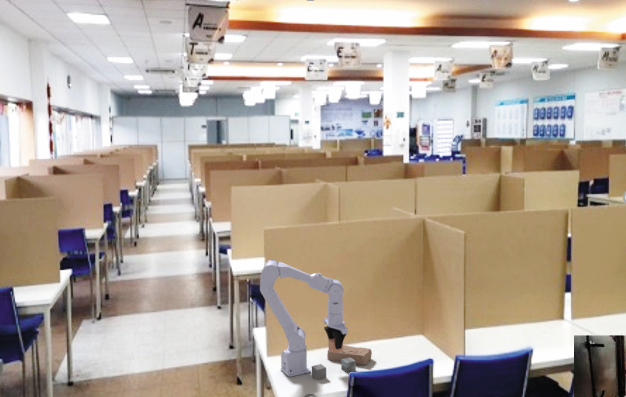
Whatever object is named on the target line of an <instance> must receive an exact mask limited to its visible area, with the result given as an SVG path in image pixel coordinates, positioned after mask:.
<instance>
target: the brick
mask: <svg viewBox="0 0 626 397" xmlns="http://www.w3.org/2000/svg"><path fill="white" fill-rule="evenodd" d="M372 354H373V353H372V349H371V348H367V347H356V346H351V345H346V344H343V351H341V352H337V353H333V352H331V351H330V350H329V349H327V354H326V355H327V358H326V359H327V360H329V361H332V362H333V361H335V362H336V361H337V362H341V359H346V358H352V359H353V360H355V361H356V366H358V365H359V366H364V365H367V363H368V362H370V361H371V359H372Z"/></svg>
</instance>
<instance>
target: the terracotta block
mask: <svg viewBox="0 0 626 397" xmlns="http://www.w3.org/2000/svg"><path fill="white" fill-rule="evenodd" d="M343 345H344V343H343V344H342V348H341V349H336V347H335V339H328V350H330V351H331V352H333V353H337V352H341V351H343Z"/></svg>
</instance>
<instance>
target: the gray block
mask: <svg viewBox="0 0 626 397" xmlns="http://www.w3.org/2000/svg"><path fill="white" fill-rule="evenodd" d="M311 377H312V378H313V379H315V380H316V381H318V380H323V379H326V378H327V367H326V366H324V365H323V364H322V363H320V364H316V365H311Z"/></svg>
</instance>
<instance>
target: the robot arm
mask: <svg viewBox="0 0 626 397" xmlns="http://www.w3.org/2000/svg"><path fill="white" fill-rule="evenodd" d="M259 276H260V277H259V278H260V279H259V280H260V283H259V291H260V293H261V295H262V296H263V298H264V300H265V301H266V303H267V305H268V306H269V309H271V311H272V313H273V315H274V316H275V318H276V320H277V322H278V323H279V324H280V326H281V328H282V330H283V331H284V334H285V338H286V339H287V341H288V342H287V344H288V345H287V349H285V350H282V351H281V354H280V360H281V361H280V366H281V368H280V371H282V373H284V374H285V375H286V376H287V377H290V378H292V377H295V376H300V375H303V374H308V373H312V369H310V368H308V367H307V366H308V364H307V363H308V358H307V356H308V354H307V353H308V352H307V351H308V350H307V346H306V341H305V340H306V332H305V330H304V329H303V328H301V327H300V326H299V325H298V323H297V322H295V321H294V319H293V318H292V316H291V314H290V313H289V311H288V309H287V308H286V306H285V304H284V303H283V301H282V299H281V298H280V296H279V294H278V293H277V292H276V289H275V287H274V286H275V283H276V281H277V279H278V278H279V279H284V278H287V277H289V278H290V279H294V280H297V281H301V282H304V283H306V284H308V287H309V288H311V289H314V290H315V291H316V290H317V291H318V292H321V293H324V294H327V295H328V300H327V318H323V324H325V325H327V326H324V327H323V328H324V331H325V333H326V335H327V339H328V340H329V339H335V347H336V349H341V348H342V344H343V345H344V341H345V338H346V336H347V334H348V332H349V330H348V328H347V326H346V321H344V300H343V298H344V297H343V295H344V288H343V284H342V282H341V281H340V280H338V279H336V278H334V279H333V278H332V277H331V278H329V277H326V276H324V275H322V273H321V272H317V273H316V272H314V273H312V274H310V273H308V272H305V271H302V270H301V269H298V268H296V267H294V266H291V265H289V264H288V263H287V264H286V263H284V262H282V261H277V260H275V259H270V260H268V261H266V262H265V264H264V266H263V268H262V271H261V273H260V275H259Z"/></svg>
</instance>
